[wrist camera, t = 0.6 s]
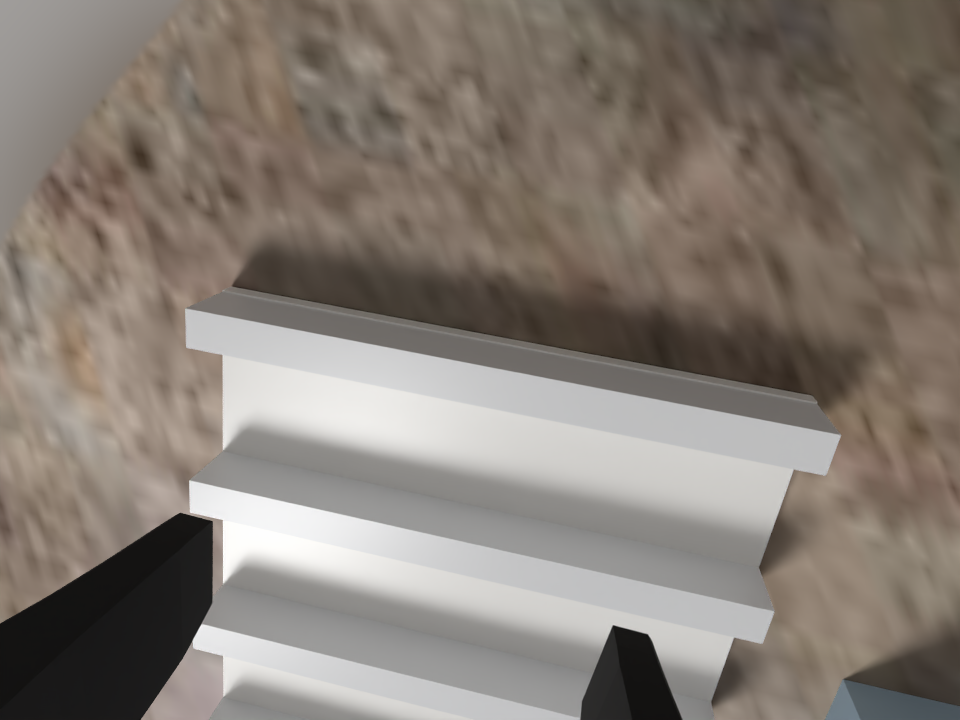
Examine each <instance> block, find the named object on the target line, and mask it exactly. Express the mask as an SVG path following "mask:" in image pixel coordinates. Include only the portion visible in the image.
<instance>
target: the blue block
mask: <svg viewBox="0 0 960 720" xmlns="http://www.w3.org/2000/svg"><path fill="white" fill-rule="evenodd" d="M825 720H960V706H956V705H952V704H947V703H943V702H939V701H934V700H930V699H926V698H921V697H917V696H913V695H909V694H904V693H900V692H896V691H891V690H887V689H883V688H878V687H874V686H870V685H866V684H861V683H857V682H853V681H848V680H844V679H843V680H842V683H841V685H840V687H839V689H838V692H837V694H836V696H835V698H834V701H833V703H832V705H831V707H830V710H829V712H828V714H827V716H826V719H825Z"/></svg>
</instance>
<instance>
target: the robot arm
mask: <svg viewBox="0 0 960 720" xmlns="http://www.w3.org/2000/svg"><path fill="white" fill-rule="evenodd" d="M212 577H213V521H210V520H206V519H202V518H198V517H194V516H190V515H187V514H183V513H179V514H177V515H175V516H174V517H172V518H171V519H169V520H167V521H166V522H164V523H163V524H161V525H160V526H158V527H156V528H155V529H153V530H152V531H150V532H149V533H147V534H146V535H144V536H143V537H141V538H140V539H138V540H137V541H135V542H134V543H132V544H130V545H129V546H127V547H126V548H124V549H123V550H121V551H120V552H118V553H117V554H115V555H113V556H112V557H110V558H109V559H107V560H106V561H104V562H103V563H101V564H99V565H98V566H96V567H95V568H93V569H91V570H90V571H88V572H86V573H85V574H83V575H82V576H80V577H78V578H77V579H75V580H74V581H72V582H70V583H69V584H67V585H66V586H64V587H62V588H61V589H59V590H57V591H56V592H54V593H52V594H51V595H49V596H47V597H46V598H44V599H42V600H41V601H39V602H37V603H35V604H34V605H32V606H30V607H28V608H27V609H25V610H23V611H21V612H20V613H18V614H16V615H14V616H12V617H11V618H9V619H7V620H5V621H4V622H2V623H0V720H141V718H142V717H143V715H144V714H145V713H146V711H147V710H148V708H149V707H150V705H151V704H152V703H153V701H154V700H155V698H156V697H157V695H158V694H159V692H160V691H161V689H162V688H163V687H164V685H165V684H166V682H167V681H168V679H169V678H170V676H171V675H172V673H173V672H174V671H175V669H176V668H177V666H178V665H179V663H180V662H181V660H182V659H183V657H184V655H185V653H186V652H187V650H188V648H189V646H190V644H191V643H192V641H193V639H194V637H195V635H196V634H197V632H198V630H199V628H200V626H201V624H202V622H203V620H204V618H205V616H206V614H207V613H208V611H209V609H210V607H211V605H212ZM580 720H683V719H682V717H681V714H680V712H679V709H678V707H677V705H676V702H675V700H674V697H673V695H672V692H671V690H670V687H669V685H668V682H667V680H666V677H665V674H664V672H663V669H662V667H661V664H660V661H659V658H658V656H657V653H656V650H655V648H654V645H653V642H652V640H651V638H650V637H649V635H648V634H645V633H642V632H638V631H634V630H630V629H626V628H622V627H618V626H615V625H613V626H612V628H611V631H610V633H609V636H608V638H607V641H606V643H605V645H604V648H603V650H602V653H601V655H600V658H599V660H598V663H597V665H596V668H595V670H594V673H593V675H592V678H591V680H590V683H589V685H588V687H587V690H586V692H585V695H584V697H583V700H582V706H581V718H580Z"/></svg>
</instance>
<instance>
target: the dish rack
mask: <svg viewBox="0 0 960 720" xmlns="http://www.w3.org/2000/svg"><path fill="white" fill-rule="evenodd" d="M185 315H186V348H191V349H196V350H201V351H206V352H211V353H216V354H221V355H223V452H221V453H220V454H219V455H218V456H217V457H216V458H215V459H213V460H212V461H211V462H210V463H209V464H208V465H206V466H205V467H204V468H203V469H202V470H201V471H200V472H198V473H197V474H196V475H195V476H194V477H193V478H192V479H190V480H189V486H190V513H195V514H199V515H203V516H208V517H212V518H217V519H221V520H223V585H222V586H221V588H220V589H219V590H218V591H217V593H216V594H215V595H214V596H213V597H212V605H211V607H210V609H209V611H208V613H207V614H206V616H205V618H204V620H203V622H202V624H201V626H200V628H199V630H198V632H197V634H196V635H195V637H194V639H193V648H194V649H198V650H202V651H206V652H210V653H214V654H218V655H221V656H223V692H224V697H223V699H222V700H221V702H220V703H219V705H218V706H217V708H216V709H215V711H214V712H213V714H212V715H211V717H210V718H209V720H580V718H581V706H582V700H583V697H584V695H585V692H586V690H587V687H588V685H589V683H590V680H591V678H592V675H593V673H594V670H595V668H596V665H597V663H598V660H599V658H600V655H601V653H602V650H603V648H604V645H605V643H606V641H607V638H608V636H609V633H610V631H611V628H612V626H613V625H615V626H618V627H622V628H626V629H630V630H634V631H638V632H642V633H645V634H648V635H649V637H650V638H651V640H652V642H653V645H654V648H655V650H656V653H657V656H658V658H659V661H660V664H661V667H662V669H663V672H664V674H665V677H666V680H667V682H668V685H669V687H670V690H671V692H672V695H673V697H674V700H675V702H676V705H677V707H678V709H679V712H680V714H681V717H682V719H683V720H714V715H713V709H712V704H711V701H712V698H713V695H714V692H715V689H716V687H717V684H718V681H719V678H720V675H721V673H722V670H723V667H724V664H725V661H726V659H727V656H728V653H729V650H730V647H731V645H732V642H733V639H734V638H739V639H743V640H747V641H752V642H756V643H761V644H762V643H763V641H764V638H765V636H766V633H767V630H768V628H769V625H770V622H771V620H772V617H773V614H774V612H775V611H774V609H773V606H772V603H771V600H770V597H769V595H768V592H767V589H766V586H765V583H764V581H763V578H762V575H761V572H760V569H759V566H760V563H761V560H762V557H763V555H764V552H765V549H766V546H767V543H768V541H769V538H770V535H771V532H772V529H773V527H774V524H775V521H776V518H777V515H778V513H779V510H780V507H781V504H782V501H783V498H784V496H785V493H786V490H787V487H788V484H789V482H790V479H791V476H792V473H793V470H794V469H795V470H800V471H805V472H810V473H815V474H820V475H825V476H826V474H827V471H828V469H829V466H830V463H831V461H832V458H833V455H834V453H835V450H836V447H837V445H838V442H839V439H840V437H841V434H840V433H839V432H838V430H837V429H836V428H835V427H834V425H833V424H832V423H831V421H830V420H829V419H828V417H827V416H826V415H825V414H824V412H823V411H822V410H821V408H820V407H819V406H818V405H817V403H818V402H817V401H816V400H815V398H814V397H813V396H812V395H806V394H801V393H796V392H790V391H785V390H780V389H774V388H769V387H764V386H758V385H753V384H748V383H742V382H737V381H732V380H726V379H721V378H716V377H710V376H705V375H700V374H694V373H689V372H684V371H679V370H673V369H668V368H663V367H657V366H652V365H647V364H641V363H636V362H631V361H625V360H620V359H615V358H609V357H604V356H599V355H593V354H588V353H583V352H577V351H572V350H567V349H561V348H556V347H551V346H545V345H540V344H535V343H529V342H524V341H519V340H513V339H508V338H503V337H498V336H492V335H487V334H482V333H476V332H471V331H466V330H460V329H455V328H450V327H444V326H439V325H434V324H428V323H423V322H418V321H412V320H407V319H402V318H396V317H391V316H386V315H380V314H375V313H370V312H364V311H359V310H354V309H348V308H343V307H338V306H332V305H327V304H322V303H316V302H311V301H306V300H301V299H295V298H290V297H285V296H279V295H274V294H269V293H263V292H258V291H253V290H247V289H242V288H237V287H229V288H226V289H224V290H223V292H221V293H219V294H216V295H214V296H212V297H210V298H207V299H205V300H203V301H201V302H198V303H196V304H194V305H192V306H190V307H187V308H185Z"/></svg>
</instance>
